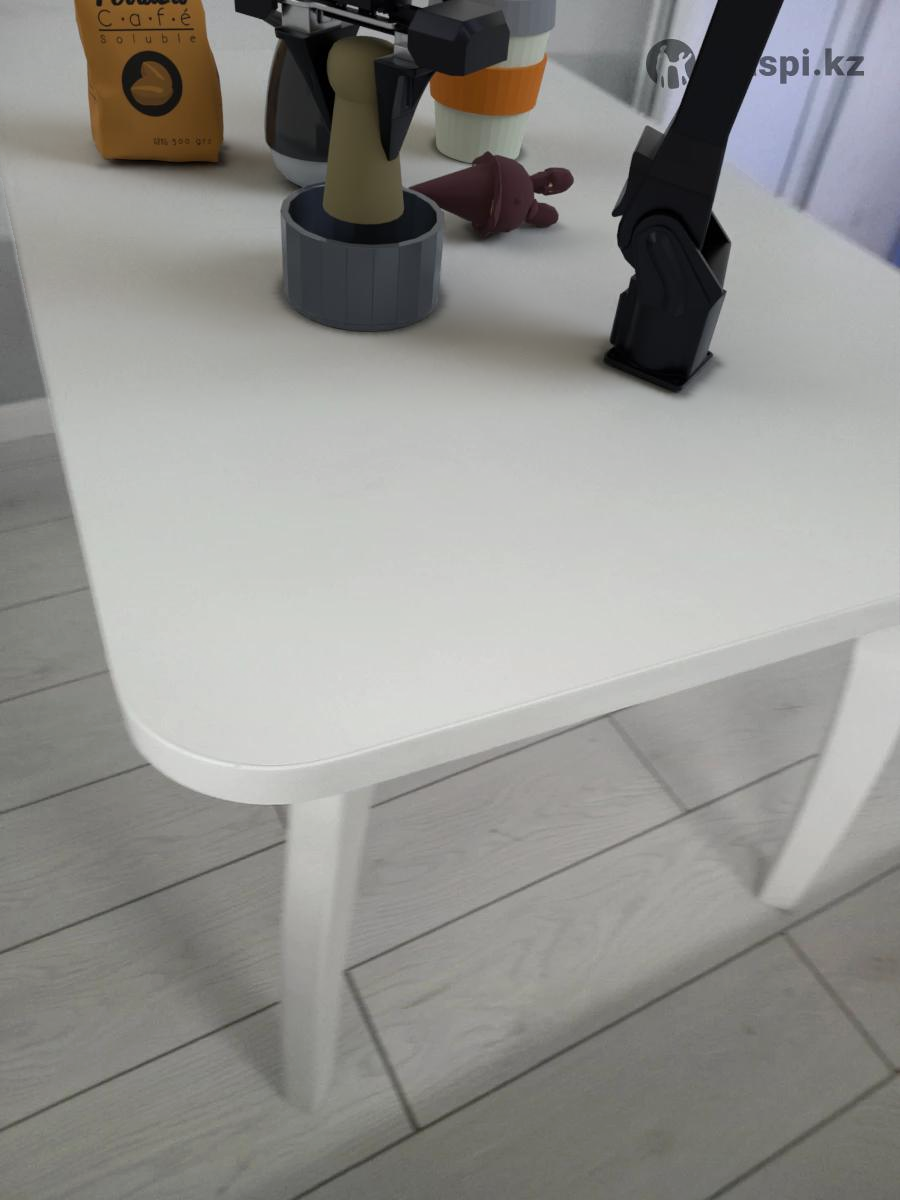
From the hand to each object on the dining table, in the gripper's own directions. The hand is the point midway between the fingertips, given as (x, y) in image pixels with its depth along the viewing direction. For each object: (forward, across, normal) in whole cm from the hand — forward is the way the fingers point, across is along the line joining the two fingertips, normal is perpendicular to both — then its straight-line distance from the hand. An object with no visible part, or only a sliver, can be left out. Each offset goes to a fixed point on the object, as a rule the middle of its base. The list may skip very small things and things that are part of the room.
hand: (365, 150), depth 66 cm
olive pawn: (+4, 0, 0) cm, 4 cm away
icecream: (+11, -1, -17) cm, 21 cm away
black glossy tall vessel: (+11, +17, -15) cm, 25 cm away
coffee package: (+11, +32, -9) cm, 35 cm away
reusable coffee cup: (+11, +11, -34) cm, 38 cm away
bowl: (+11, 0, 0) cm, 11 cm away
